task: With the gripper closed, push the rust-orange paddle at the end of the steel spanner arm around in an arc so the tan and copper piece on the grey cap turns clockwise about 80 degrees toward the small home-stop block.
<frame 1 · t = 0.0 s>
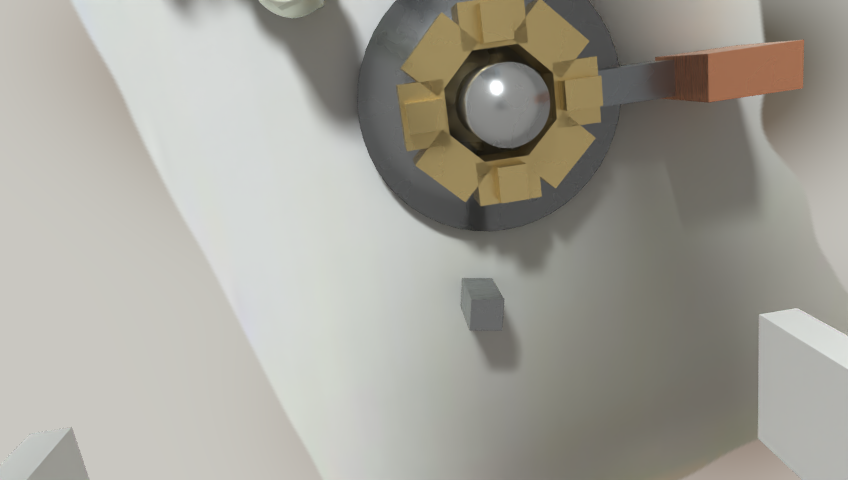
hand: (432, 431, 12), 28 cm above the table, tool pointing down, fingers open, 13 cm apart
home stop: (476, 292, 41), on the table
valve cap: (488, 101, 38), on the table
tan and copper piece: (586, 91, 34), point 4 cm above the table, hinge at 0.0°
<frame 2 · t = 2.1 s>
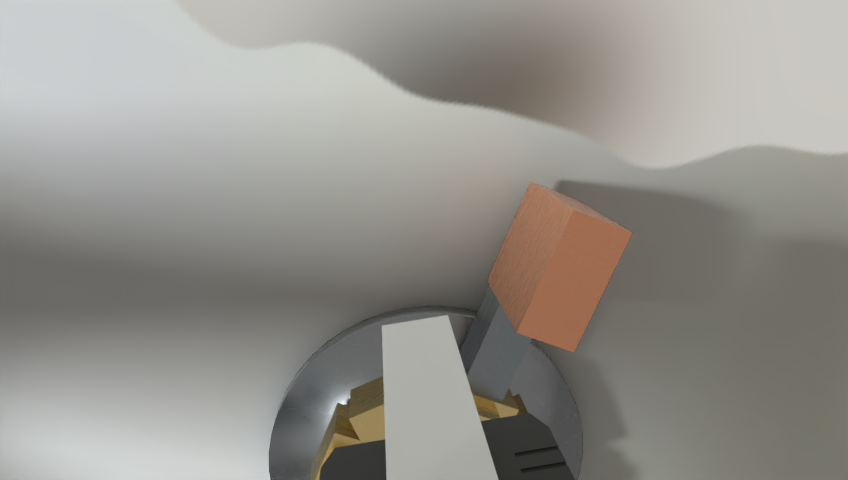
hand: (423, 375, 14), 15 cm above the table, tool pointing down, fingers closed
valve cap: (427, 449, 32), on the table
tan and copper piece: (476, 418, 27), point 4 cm above the table, hinge at 0.0°
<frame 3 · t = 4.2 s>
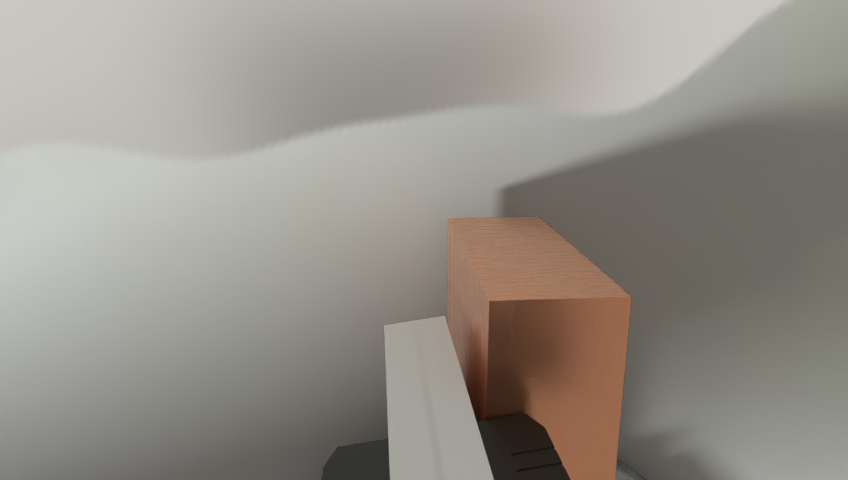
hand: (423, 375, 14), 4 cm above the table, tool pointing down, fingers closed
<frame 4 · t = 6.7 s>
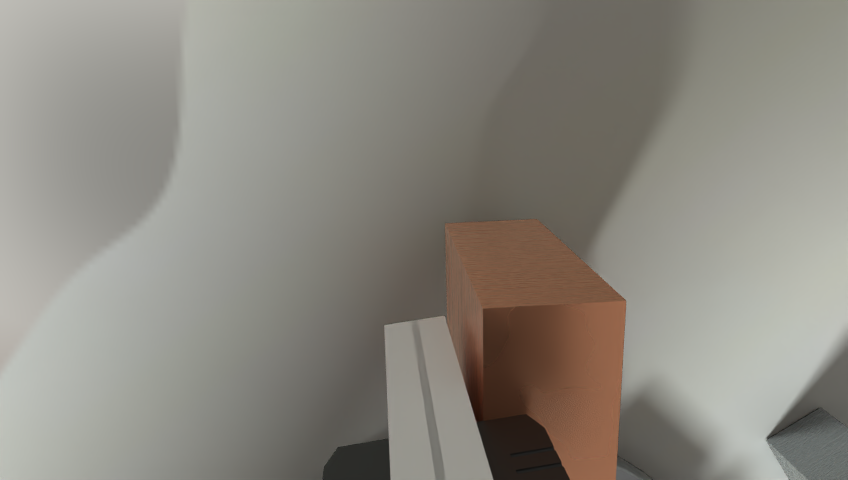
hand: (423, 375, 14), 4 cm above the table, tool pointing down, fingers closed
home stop: (805, 445, 20), on the table
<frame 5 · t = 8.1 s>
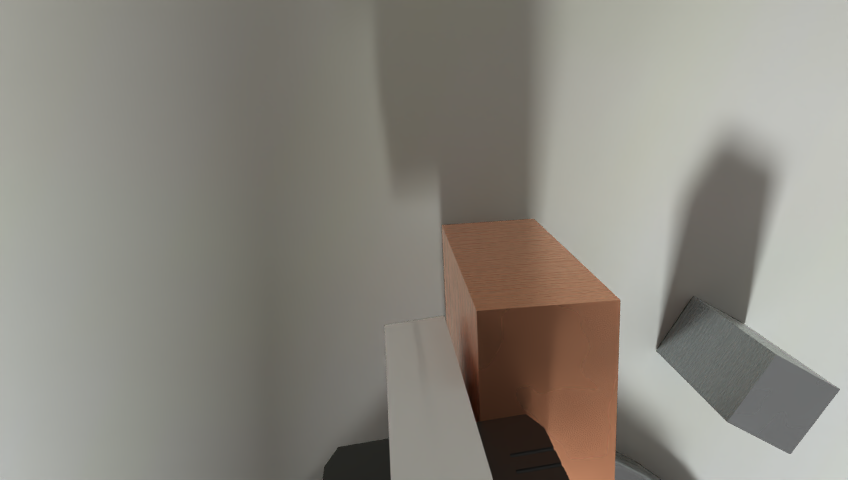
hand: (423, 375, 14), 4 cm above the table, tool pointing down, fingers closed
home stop: (700, 337, 19), on the table
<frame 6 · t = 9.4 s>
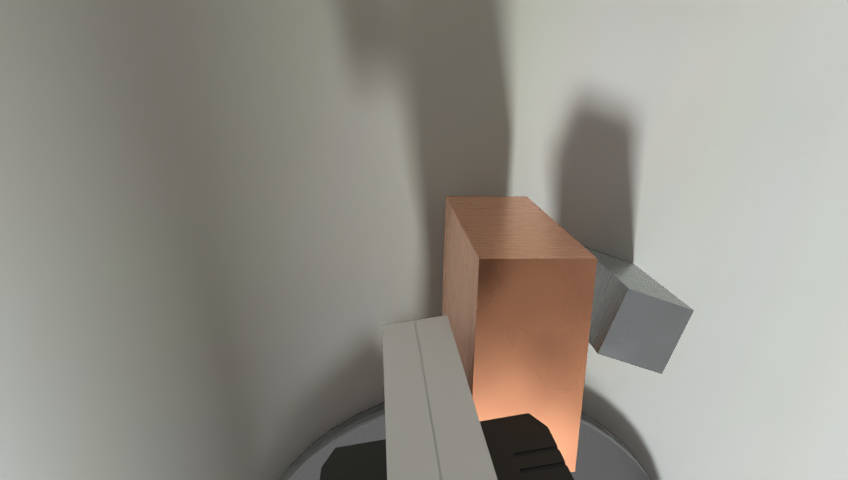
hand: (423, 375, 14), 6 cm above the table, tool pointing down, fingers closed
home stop: (595, 282, 21), on the table
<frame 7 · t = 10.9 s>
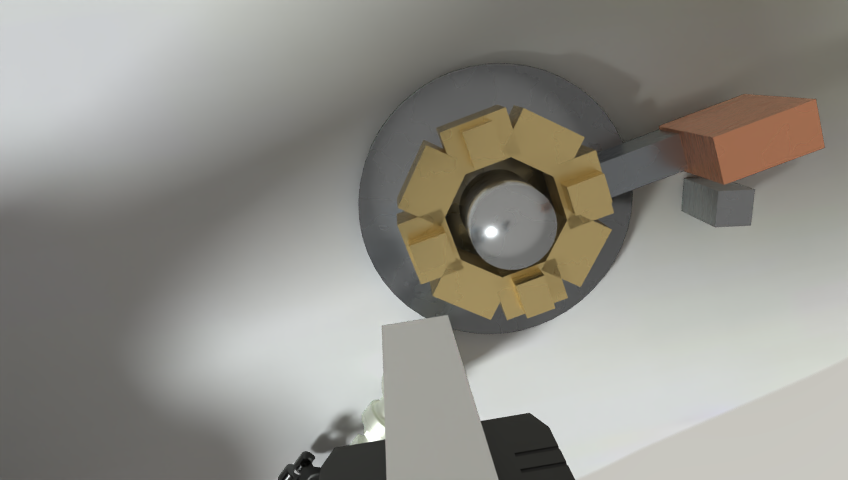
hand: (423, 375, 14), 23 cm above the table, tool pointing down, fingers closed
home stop: (698, 194, 37), on the table
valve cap: (494, 203, 37), on the table
tan and copper piece: (592, 188, 32), point 4 cm above the table, hinge at 81.6°
valve: (379, 402, 40), on the table
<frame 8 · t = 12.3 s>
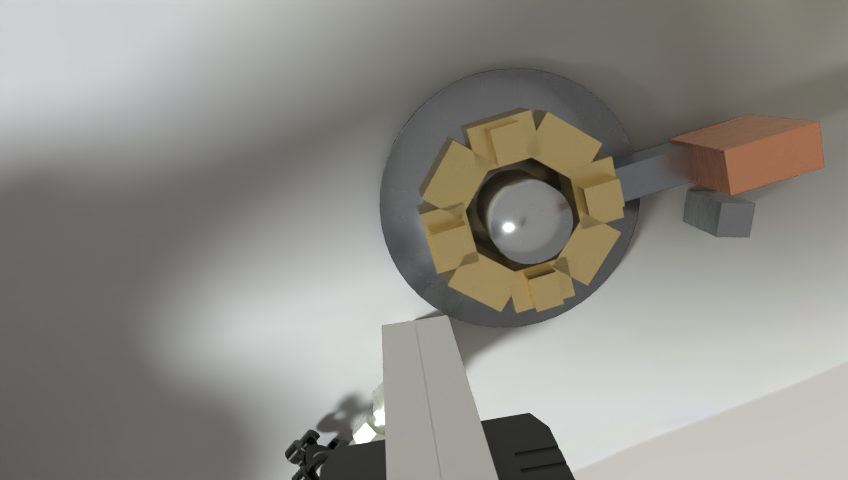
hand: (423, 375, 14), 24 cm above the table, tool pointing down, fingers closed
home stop: (700, 206, 39), on the table
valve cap: (508, 201, 38), on the table
tan and copper piece: (606, 192, 34), point 4 cm above the table, hinge at 81.6°
valve: (386, 385, 41), on the table
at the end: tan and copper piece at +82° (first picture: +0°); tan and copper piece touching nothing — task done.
